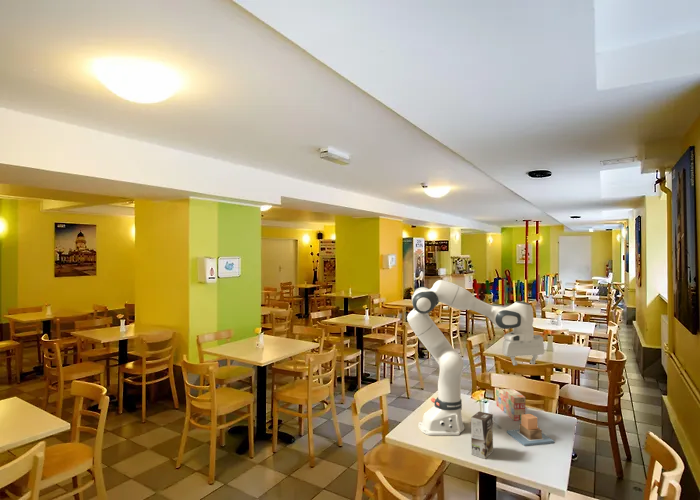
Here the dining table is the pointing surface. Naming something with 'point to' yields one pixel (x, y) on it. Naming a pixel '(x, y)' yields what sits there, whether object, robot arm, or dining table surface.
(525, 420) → the terracotta cube
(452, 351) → the robot arm
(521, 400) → the colourful patterned carton
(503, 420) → the dining table surface
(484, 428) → the coffee box
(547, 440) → the slate-blue board
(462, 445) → the dining table surface
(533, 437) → the walnut brick
